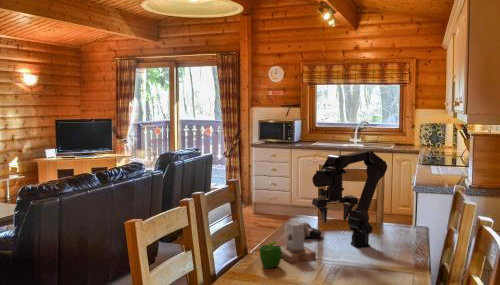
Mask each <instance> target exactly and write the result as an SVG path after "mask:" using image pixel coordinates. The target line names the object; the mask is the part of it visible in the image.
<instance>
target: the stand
mask: <svg viewBox="0 0 500 285" xmlns="http://www.w3.org/2000/svg"><path fill="white" fill-rule="evenodd" d="M285 247H287V245H285V246H280V248H281V251H282V252H281V259H283V260H285V261H286V262H288V263H289V264H291V263H297V262H302V261H307V260H308V261H309V260H315V259H316V256H317V255H316V254H317V253H316V251H313V250H311V249H310V248H308V247H306V246H304V249H305V251H303V252H296V253H291V252H290V251H288V250H286V249H285Z"/></svg>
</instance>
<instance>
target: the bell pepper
mask: <svg viewBox="0 0 500 285" xmlns="http://www.w3.org/2000/svg"><path fill="white" fill-rule="evenodd" d="M277 243H278V242H277V241H272V242H270V243H269V244H262V245H261V246H260V248H259V257H260V261H261V264H262V266H263V268H265V269H273V268H278V267H279V265H280V262H281V259H282V258H281V252H282V251H281V248H280V247H281V246H280V245H277Z"/></svg>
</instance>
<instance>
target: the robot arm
mask: <svg viewBox="0 0 500 285" xmlns="http://www.w3.org/2000/svg"><path fill="white" fill-rule="evenodd" d="M361 162H363V164H364V165H365V167H366V170H365V172H366V180H365V183H364V186H363V189H362V192H361V195H360V197H359V199H358V197H356V196H354V195H351V194H350V195H344V196H343V191H344V190H345V188H344V187H343V174H347V173H348V172H347V171H346V170H345V168H347V167H348V166H349V165H351V164H356V163H361ZM387 170H388V164H387V162H386V161H385V160H384V159H383V158H381V157H380V156H378V155H377V154H376V153H375V152H374V151H372V150H369V149H367V150H366V149H364V150H360V151H356V152H351V153H347V154H338V153H337V154H336V153H335V154H333V153H329V154H328V155H327V158H326V160H325V162H324V164H323V165H322V167H321V169H320V170H319V169H318V170H316V171H315V174H313V177H312V185H313V186H314V187H315V188H318V189H317V191H318V192H317V194H318V197H314V198H313V199H312V200H311V204H312V206H315V208H317V209H318V210H319V212H320V215H321V216H322V217H321V218H322V220H323V223H324V224H325V223H327V220H328V219H327V218H328V207H327V206H328V205H331V204H332V205H333V204H342V205H343V215H342V216H343V221H345V222H346V221H347V224H348V228H349V230H350V231H352V234H351V242H350V245H353V246H354V247H355V248H367V247H369V248H370V247H371V244H370V242H369V240H370V238H369V236H370V234H372V233H373V227H372V226H371V224H370V223H369V221H370V216H369V209H370V206H371V203H372V200H373V198H374V195H375V192H376V189H377V186H378V183H379V181H380V180H381V179H382V178H384V176H385V174H386V173H387ZM323 187H326V189H324V188H323ZM354 207H355V208H354ZM353 208H354V209H353Z"/></svg>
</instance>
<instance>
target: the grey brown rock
mask: <svg viewBox="0 0 500 285" xmlns="http://www.w3.org/2000/svg"><path fill="white" fill-rule="evenodd" d="M295 222H298V221H295ZM301 223H302V224H304V241H305V240H306V237H311V238H314V239H319V238H321V234H322V231H321V230H319V229H317V228H314V227H312V226H311V224H310V223H308V222H301Z"/></svg>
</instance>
